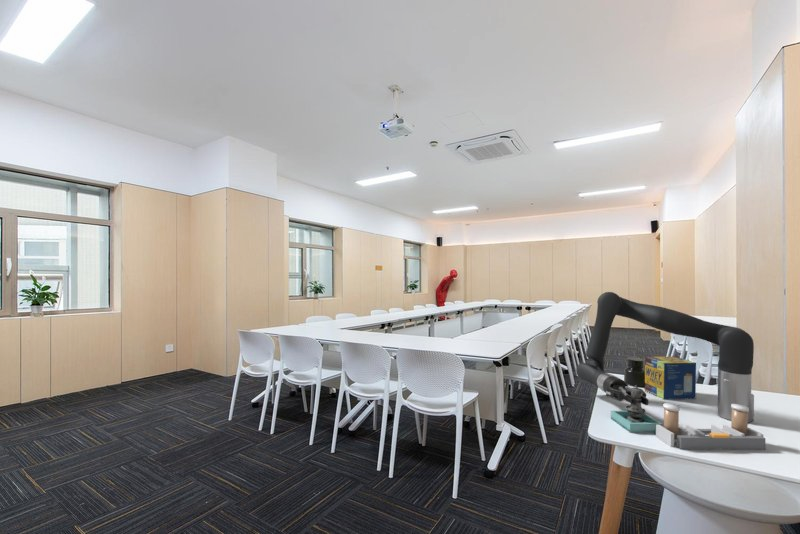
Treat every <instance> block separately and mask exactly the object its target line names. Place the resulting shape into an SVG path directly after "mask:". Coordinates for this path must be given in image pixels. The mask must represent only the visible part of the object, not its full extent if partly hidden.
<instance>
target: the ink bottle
mask: <svg viewBox="0 0 800 534" xmlns="http://www.w3.org/2000/svg"><path fill="white" fill-rule="evenodd" d="M623 375H624V376H623V379H624V380H623V381H625V382H626V383H627V385H628V386H631V387H635V385H636V386H637V388H645V359H643V358H640V357H639V358H638V357H633V356H632V357H630V356H629V357H627V358H626V367H625V368H624V371H623Z"/></svg>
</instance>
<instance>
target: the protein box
mask: <svg viewBox="0 0 800 534" xmlns="http://www.w3.org/2000/svg"><path fill="white" fill-rule="evenodd" d="M644 370H645V387H644V392H646V391H647V392H646V393H648V392H649V393H648V394H650V393H651V394H650V395H652V394H653V396H655V397H657V398H658V399H659V398H660V399H661V398H662V399H661V400H689V399H690V398H692V399H691V400H693V399H694V398H695V399H696V391H697V389H696V385H697V373H696V372H697V362H695V361H691V360H688V359H685V358H683V357H682V358H681V357H678V356H645V358H644ZM685 398H686V399H685ZM687 398H688V399H687ZM695 399H694V400H695Z"/></svg>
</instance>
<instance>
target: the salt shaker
mask: <svg viewBox="0 0 800 534" xmlns="http://www.w3.org/2000/svg"><path fill="white" fill-rule="evenodd" d="M631 388H632V389H631V396H632V397H634V398H635V399H636V405H633V404H631V403H629V405H626V406H625V409H626V411H627V412H628V414H629V416H627V419H629V420H631V421H634V422H644V419H642V418H641V417H643V416H644V414H646V409H645V408H643V407H642V403H641V400H642V399H641V390H640V389H641V388H640V387H637V386H636V385H635V386H632V387H631Z"/></svg>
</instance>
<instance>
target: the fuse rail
mask: <svg viewBox="0 0 800 534" xmlns="http://www.w3.org/2000/svg"><path fill="white" fill-rule="evenodd" d="M654 434H655V437H656V438H657V439H658V440H660V441H662V442H663V443H665V444H667V445H668V446H669V447H670V448H672V447H675V443H674V433H672V432H671V431H669V430H667V429H666V428H664V426H663V427H662V426H661V425H656V430H655V433H654ZM706 434H707V435H706ZM676 447H677V448H678V447H679V448H678V449H680V450H731V449H740V450H742V451H745V450H746V451H747V450H749V451H750V450H751V451H754V450H757V451H759V450H761V451H765V450H766V438H765V437H764V434H763V433H762V432H759V431H756V430H755V429H752V428H751V427H747V436H745V434H743V433H741V432H739V431H737V430H735V429H733V428H731V426H729V425H726V424H723V425H722V428H721V427H719V426H717V425H714V424H711V425H710V428H695V427H694V426H691V425H690V424H685V428H683V427H682V426H678V435H677V443H676Z"/></svg>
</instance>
